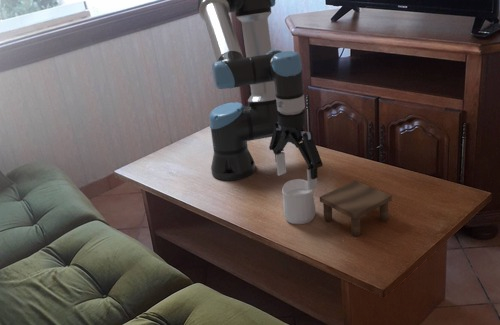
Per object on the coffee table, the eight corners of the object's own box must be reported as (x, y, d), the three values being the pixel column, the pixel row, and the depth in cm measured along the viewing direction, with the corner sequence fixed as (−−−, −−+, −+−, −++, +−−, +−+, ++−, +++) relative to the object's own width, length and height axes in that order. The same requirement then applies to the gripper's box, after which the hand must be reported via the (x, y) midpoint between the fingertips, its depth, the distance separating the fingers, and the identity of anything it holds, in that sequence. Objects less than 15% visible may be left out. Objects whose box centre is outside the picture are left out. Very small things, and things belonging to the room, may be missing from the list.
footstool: (320, 219, 171) (319, 196, 168) (355, 202, 178) (355, 180, 175) (356, 238, 160) (355, 214, 157) (391, 219, 167) (391, 195, 164)
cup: (292, 228, 168) (290, 198, 164) (277, 213, 177) (274, 184, 173) (322, 219, 171) (320, 189, 167) (305, 204, 180) (303, 176, 176)
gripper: (252, 104, 168) (260, 172, 176) (311, 124, 149) (316, 199, 157) (273, 97, 171) (279, 164, 180) (333, 116, 152) (337, 190, 161)
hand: (296, 181), depth 169 cm, fingers open, 13 cm apart
